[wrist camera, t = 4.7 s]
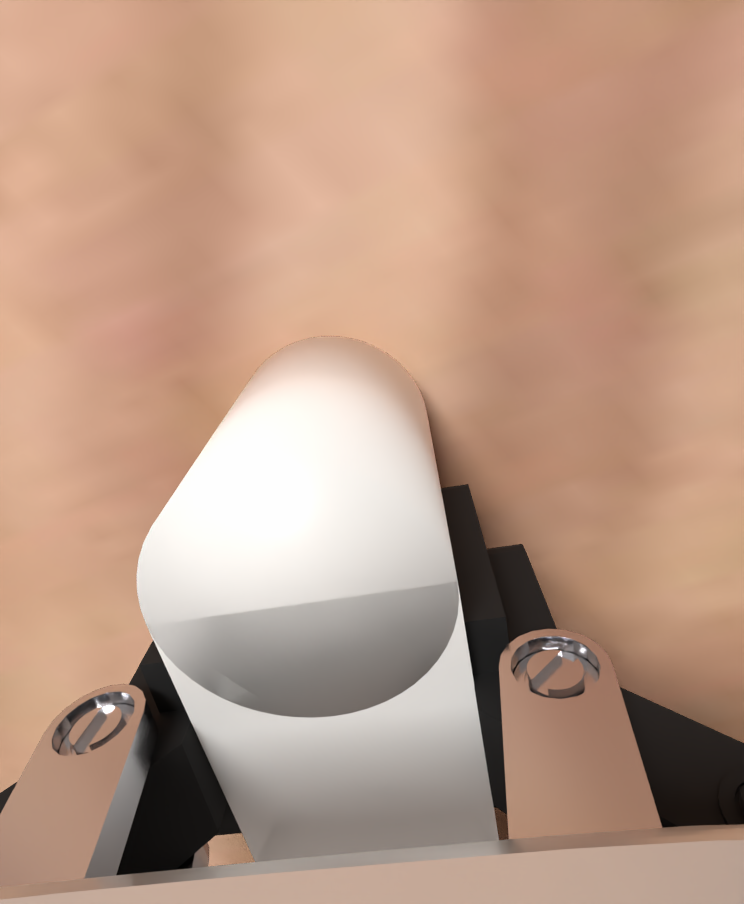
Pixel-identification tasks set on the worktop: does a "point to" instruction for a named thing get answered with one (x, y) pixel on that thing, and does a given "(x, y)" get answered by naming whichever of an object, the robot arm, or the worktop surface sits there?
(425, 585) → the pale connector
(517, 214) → the worktop surface
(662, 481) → the worktop surface
